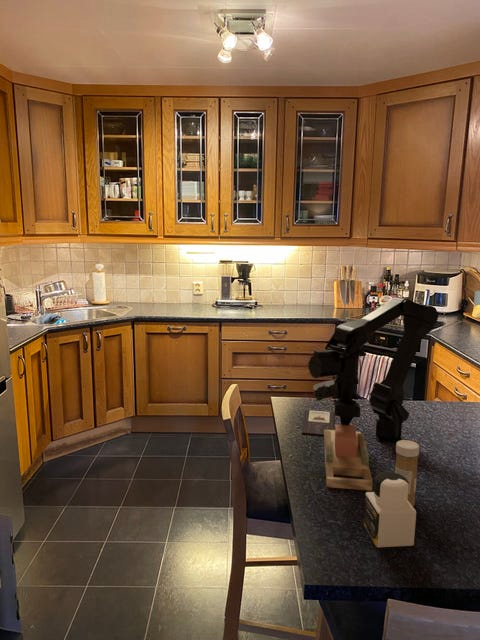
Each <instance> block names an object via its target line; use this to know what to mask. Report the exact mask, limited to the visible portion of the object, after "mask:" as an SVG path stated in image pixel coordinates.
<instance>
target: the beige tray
mask: <svg viewBox="0 0 480 640" xmlns="http://www.w3.org/2000/svg"><path fill="white" fill-rule="evenodd" d="M356 435H357V450H356V457H345V456H335V429H334V430H325V429H324V436H323V447H324V459H325V460H324V462H325V464H324V465H325V480H326V481H325V482H326V488H333V489H334V488H336V489H346V490H347V489H348V490H358V491H359V490H360V491H368V492H373V487H374V485H373V483H374V482H373V478H372V474H371V470H370V465H369V463H370V456H369V452H368V448H367V444H366V441H365V437H364V433H361V431H356ZM334 475H335V477H334ZM338 476H347V477H338ZM350 477H360V478H350ZM361 478H362V479H361Z"/></svg>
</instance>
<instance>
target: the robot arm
mask: <svg viewBox="0 0 480 640" xmlns="http://www.w3.org/2000/svg"><path fill="white" fill-rule="evenodd" d="M401 316H402V317H403V319H402V324H403V335H402V337H401V339H400V342H399V345H398V346H397V349H396V351H395V353H394V356H393V359H392V361H391V363H390V367H389V369H388V370H387V373H386V376H385V377H384V379H383V380H381V382H377V381H375V382H374V384H373V387H372V389H371V392H370V393H369V394H368V395H369V400H368V401H369V403H370V404H369V405H370V407H371V409H372V413H373V414H375V415H376V414H377V417H376V419H375V420H374V435H375V436H376V439H377V441H378V442H388V443H389V442H390V443H397V442H398V441H401V440H403V439H402V430H403V424H404V422H407V421H408V419H409V416H410V412H409V411H408V410H407V409H406V408H405V407H404V405H403V403H404V400H405V394H404V388H403V387H404V383H405V381H406V379H407V376H408V374H409V371H410V369H411V367H412V365H413V361H414V360H415V357H416V354H417V352H418V349H419V347H420V345H421V342H422V339H423V338H424V337H426V336H427V335H429V333H431V332H432V331H433V329H434V328H435V326H436V323H437V322H438V319H439V313H438V310H437V309H436V307H435V306H432V305H428V304H422V303H418V302H415V301H412V300H410V299H409V298H406V297H400V296H395V297H392V298H391V299H390V301H387V302H386V303H385V304H383V305H382V306H380V307H378V308H377V309H375V310H373V311H372V312H370V313H368V314H367V315H365V316H363V317H361V318H359V319H356V320H355V319H354V320H350V321H346V322H343V323H340V324H339V325H337V326H336V327H335V328H334V332H333V334H332V335H331V337H330V338H329V340H328V341H327V344H326V345H325V347H324V350H319V349H318V350H314V351H313V355H312V356H310V359H309V361H308V362H307V363H308V364H307V365H308V370H309V374H310V375H311V377H312V378H314V379H321V378H327V377H333V379H331V380H326V381H325V380H324V381H322V382H319V383H316V384H314V385H313V386H312V390H313V393H314V397H315V399H316V401H318V402H319V401H322V400H324V399H327V398H333V401H332V402H333V409H334V410H333V412H334V416H336V417H339V421H340V425H350V424H351V422H352V421H353V419H354V418H360V417H361V409H362V408H361V406H360V404H359V403H358V402H357V400H358V399H359V396H358V385H359V381H360V380H359V365H360V357H365V356H367V353H366V352H365V351H364V350H363V349H362V347H363V346H364V345H366V344H367V343H368V342H369V341H370V339H371V336H372V335H373V334H374V333H376V332H377V331H379V330H380V329H382V328H383V327H385V326H387V325H389V324H390V323H392V322H394V320H396V319H398V318H400V317H401Z"/></svg>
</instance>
